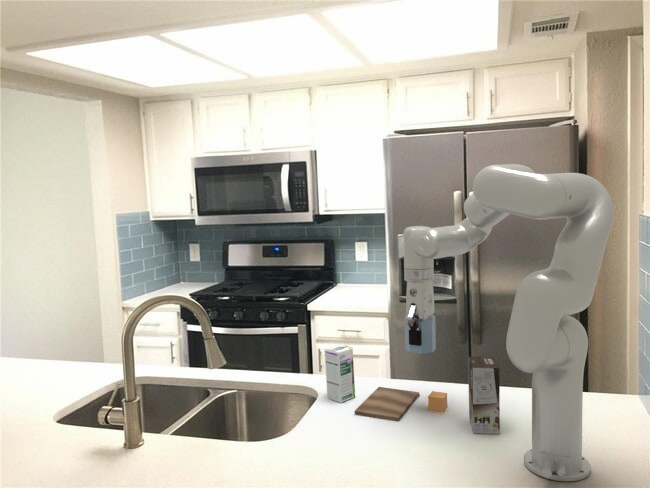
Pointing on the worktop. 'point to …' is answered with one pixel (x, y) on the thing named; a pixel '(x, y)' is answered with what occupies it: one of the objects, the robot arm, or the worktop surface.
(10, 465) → the worktop surface
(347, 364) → the syrup box
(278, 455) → the worktop surface
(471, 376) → the coffee box
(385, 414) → the board
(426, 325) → the cup
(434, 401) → the block
